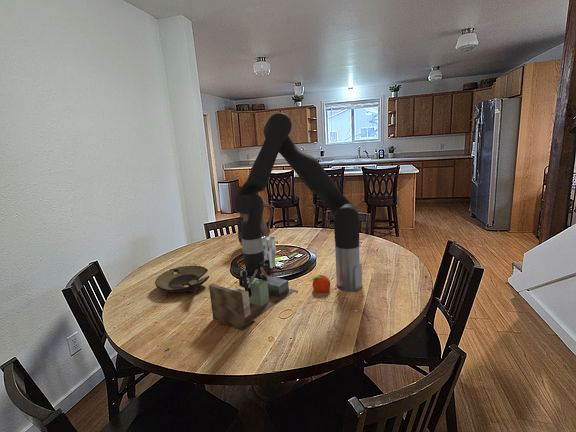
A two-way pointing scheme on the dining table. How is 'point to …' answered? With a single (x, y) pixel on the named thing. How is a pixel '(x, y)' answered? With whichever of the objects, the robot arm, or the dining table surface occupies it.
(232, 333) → the dining table surface
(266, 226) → the ceramic pitcher
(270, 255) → the beer glass
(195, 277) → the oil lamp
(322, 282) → the tomato
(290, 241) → the dining table surface
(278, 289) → the dark gray rectangular block
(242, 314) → the book shelf
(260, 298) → the pale green chunky prism
